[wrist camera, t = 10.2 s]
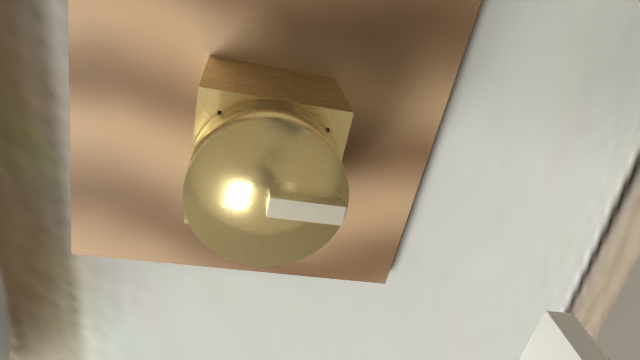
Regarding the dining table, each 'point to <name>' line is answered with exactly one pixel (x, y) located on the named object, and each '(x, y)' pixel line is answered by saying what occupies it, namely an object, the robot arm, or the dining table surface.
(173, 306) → the dining table surface
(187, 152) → the plate
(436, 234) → the dining table surface
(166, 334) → the dining table surface
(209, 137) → the knob
